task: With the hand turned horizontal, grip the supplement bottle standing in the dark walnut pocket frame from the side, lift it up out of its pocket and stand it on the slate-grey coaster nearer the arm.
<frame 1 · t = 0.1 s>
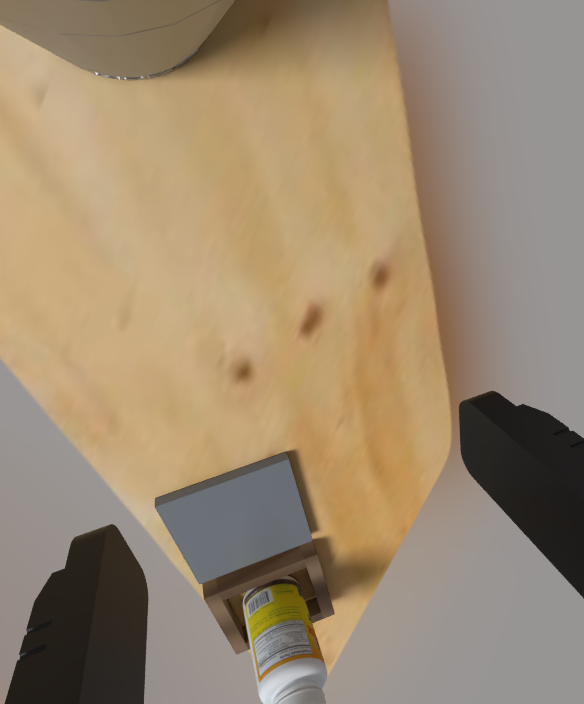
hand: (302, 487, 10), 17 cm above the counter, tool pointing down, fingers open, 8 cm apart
supplement bottle: (270, 589, 41), resting in pocket frame
pocket frame: (271, 591, 40), on the counter
slate coaster: (239, 517, 35), on the counter
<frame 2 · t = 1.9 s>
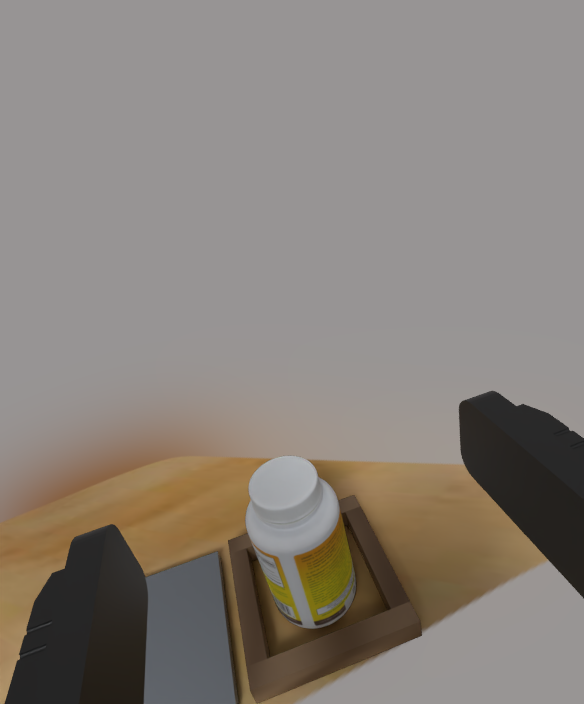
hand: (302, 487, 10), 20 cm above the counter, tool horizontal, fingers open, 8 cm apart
supplement bottle: (316, 591, 29), resting in pocket frame
pocket frame: (315, 589, 29), on the counter
slate coaster: (152, 652, 28), on the counter
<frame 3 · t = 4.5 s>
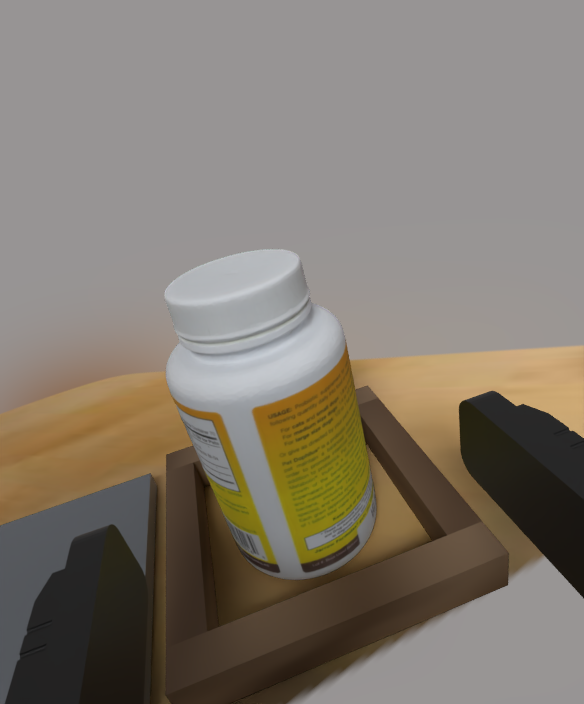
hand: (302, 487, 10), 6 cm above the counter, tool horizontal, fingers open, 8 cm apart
supplement bottle: (307, 523, 17), resting in pocket frame
pocket frame: (306, 519, 17), on the counter
slate coaster: (15, 629, 15), on the counter
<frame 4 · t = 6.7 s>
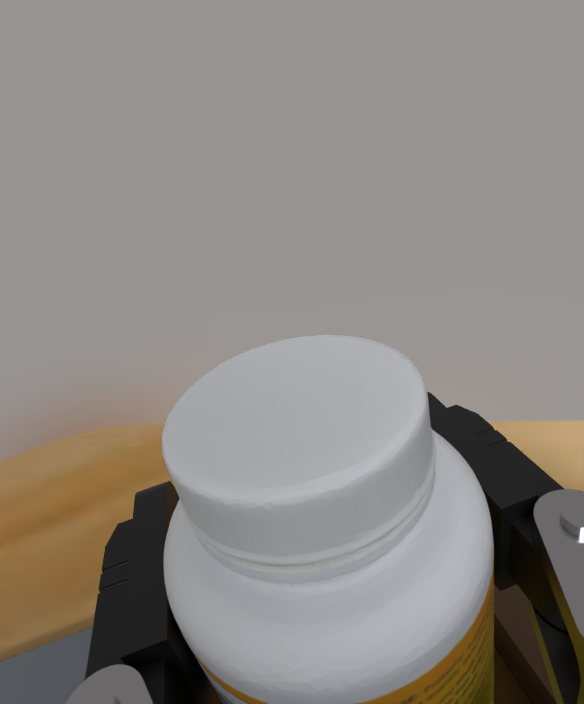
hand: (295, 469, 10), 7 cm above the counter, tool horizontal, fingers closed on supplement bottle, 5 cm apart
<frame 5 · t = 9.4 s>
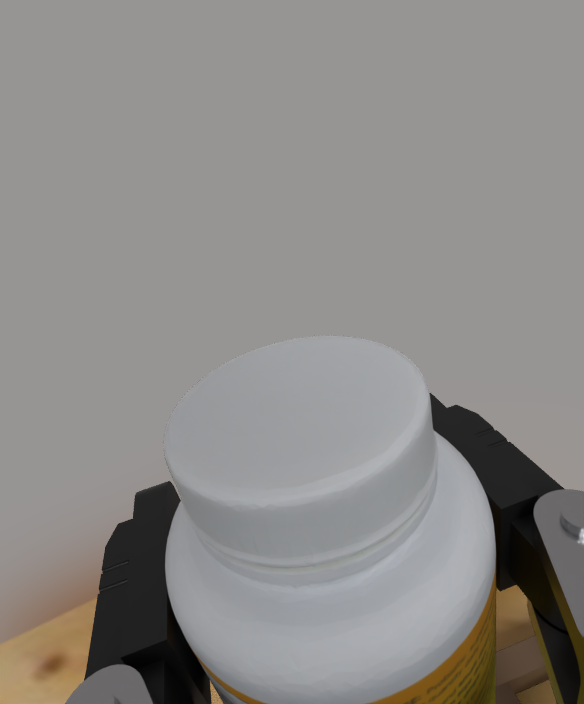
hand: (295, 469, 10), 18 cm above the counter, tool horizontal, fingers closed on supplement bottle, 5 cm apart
when the fingers open (8 cm above the counter, at t = 11.9 s): supplement bottle drops 1 cm, resting on slate coaster.
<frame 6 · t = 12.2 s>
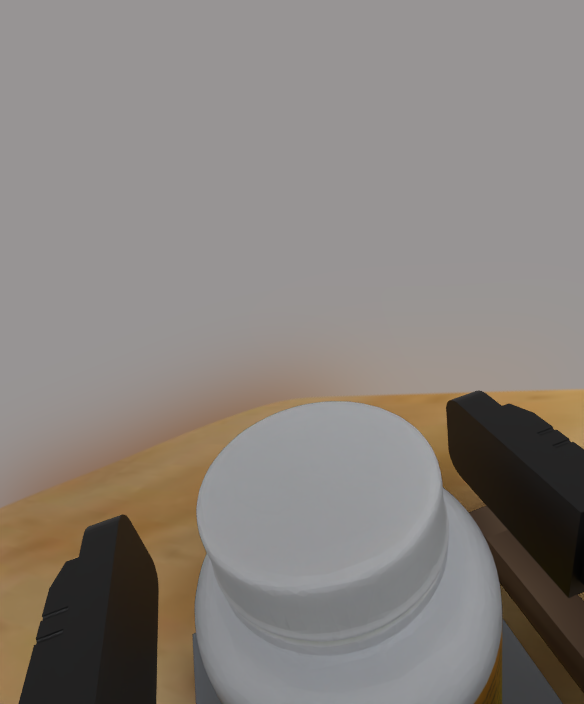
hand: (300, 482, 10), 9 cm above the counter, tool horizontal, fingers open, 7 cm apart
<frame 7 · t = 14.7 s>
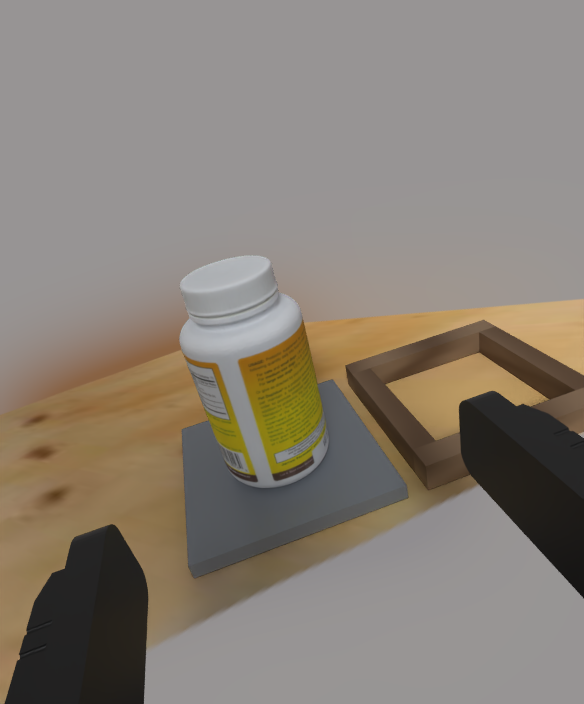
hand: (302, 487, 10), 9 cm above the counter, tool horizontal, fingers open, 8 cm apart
supplement bottle: (279, 456, 23), point 1 cm above the counter, touching slate coaster
pocket frame: (461, 399, 25), on the counter
slate coaster: (279, 463, 24), on the counter
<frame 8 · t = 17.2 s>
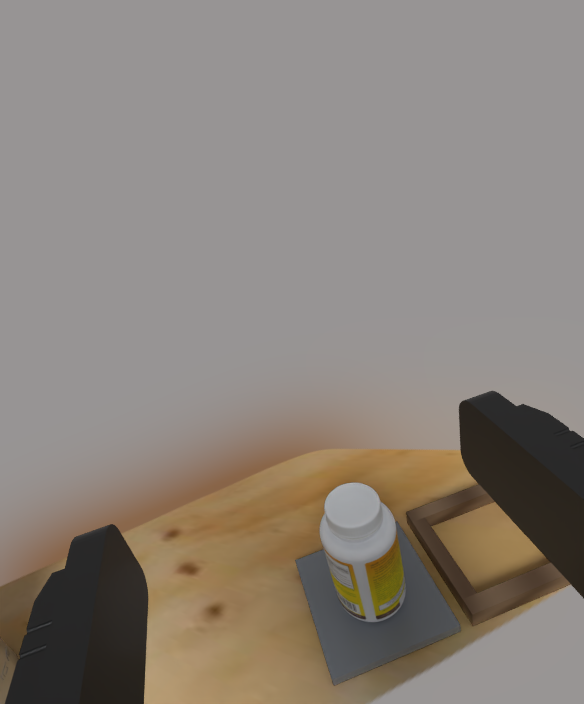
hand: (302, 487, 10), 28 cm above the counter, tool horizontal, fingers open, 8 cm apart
supplement bottle: (371, 591, 35), point 1 cm above the counter, touching slate coaster
pocket frame: (489, 547, 37), on the counter
slate coaster: (370, 595, 36), on the counter
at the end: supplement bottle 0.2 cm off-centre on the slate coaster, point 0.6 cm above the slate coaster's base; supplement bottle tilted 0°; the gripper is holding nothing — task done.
